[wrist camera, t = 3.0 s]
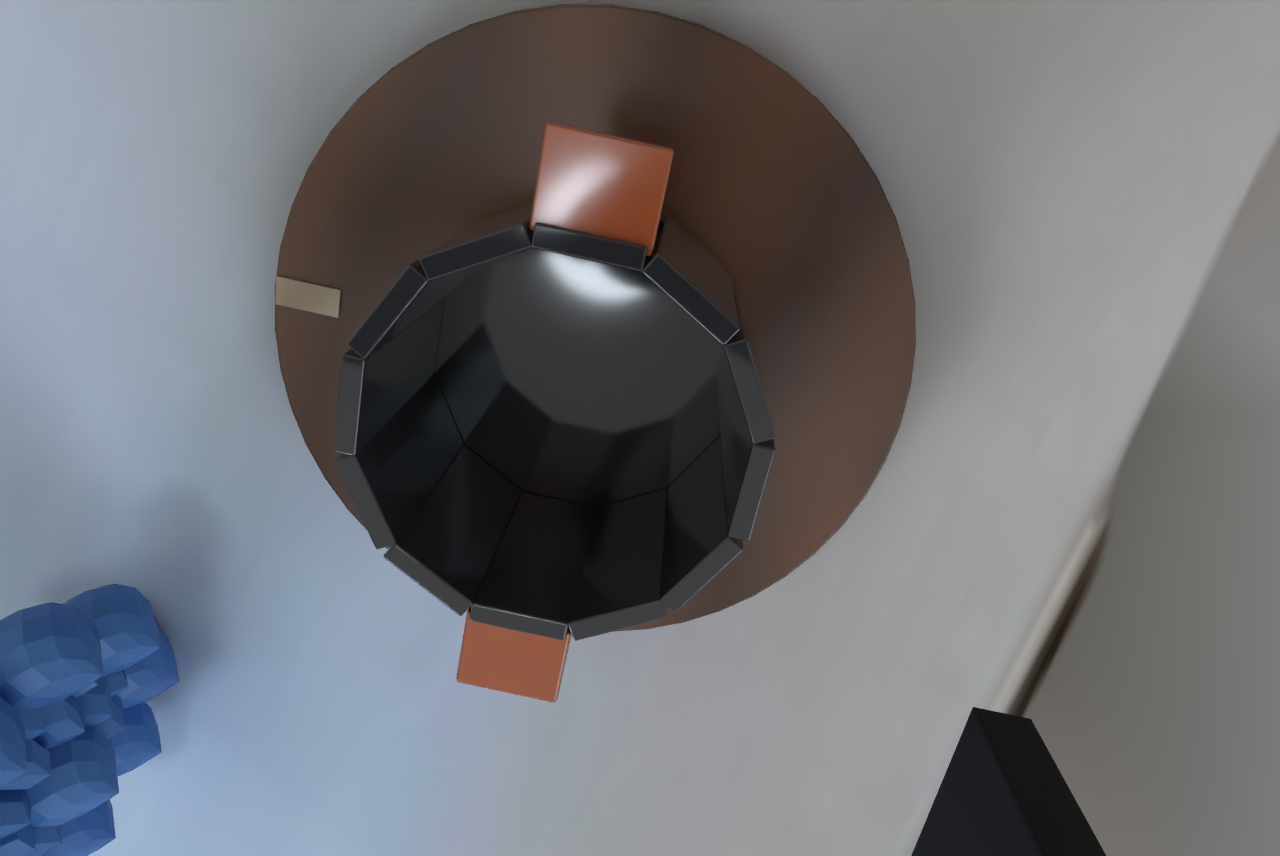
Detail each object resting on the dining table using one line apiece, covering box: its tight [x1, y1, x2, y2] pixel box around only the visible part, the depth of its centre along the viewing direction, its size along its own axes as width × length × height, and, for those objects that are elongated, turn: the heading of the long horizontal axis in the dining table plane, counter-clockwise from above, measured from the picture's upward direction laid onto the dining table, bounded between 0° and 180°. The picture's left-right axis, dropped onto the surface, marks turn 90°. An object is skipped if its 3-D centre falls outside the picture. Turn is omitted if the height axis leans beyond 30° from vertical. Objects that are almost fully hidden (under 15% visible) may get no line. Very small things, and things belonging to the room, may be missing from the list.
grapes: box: [0, 584, 179, 856], centre depth 25 cm, size 12×7×12 cm, turn 160°
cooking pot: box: [333, 121, 776, 702], centre depth 21 cm, size 9×13×7 cm
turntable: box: [275, 4, 916, 631], centre depth 25 cm, size 18×18×2 cm
